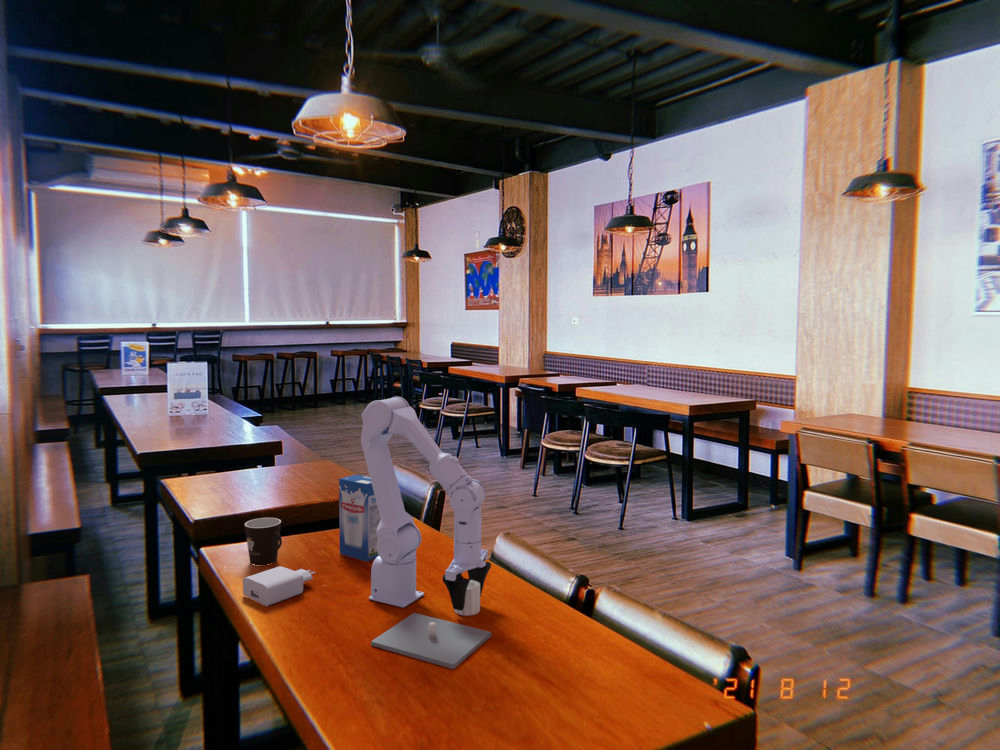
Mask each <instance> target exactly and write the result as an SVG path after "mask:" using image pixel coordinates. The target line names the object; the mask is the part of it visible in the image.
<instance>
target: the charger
mask: <svg viewBox="0 0 1000 750" xmlns="http://www.w3.org/2000/svg"><path fill="white" fill-rule="evenodd" d="M314 574H316V571H311V569H307V570H306V569H303V568H299V569H297V570H293V569H291V568H287V567H284V566H276V567H274V568H270V569H267V570H264V571H261V572H257V573H256V574H252V575H249V576H246V577H243V578H242V592H243V593H242V594H243V596H244V595H245V596H247V597H249V598H251V599H253V600H255V601H257V602H259V603H261V604H263V605H262V606H264V605H265V606H264V607H269V606H271V605H274V604H277V603H280V602H282V601H285V600H288V599H290V598H292V597H295V596H298V595H301V594H302V593H303V591H304V583H305V582H308V581H310V580H311V581H312V579H313V576H312V575H314ZM255 601H254V602H255ZM257 602H256V603H257ZM259 603H258V604H259ZM261 604H260V605H261Z"/></svg>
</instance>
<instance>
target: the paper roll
mask: <svg viewBox="0 0 1000 750" xmlns="http://www.w3.org/2000/svg"><path fill="white" fill-rule="evenodd" d="M453 611H454V613H455V614H458V615H461V616H473V615H477V614H478V613H479V612H481V597H480V583H479V582H478V581H475V580H470V582H469V584H468V586H467V590H466V594H465V604H464V608H463V610H462V611H460V610H456V609H453Z"/></svg>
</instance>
